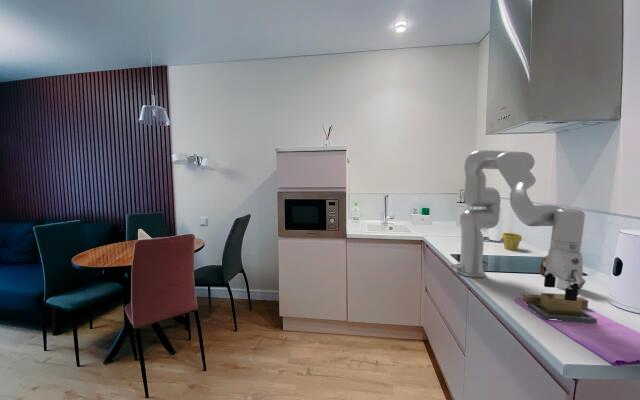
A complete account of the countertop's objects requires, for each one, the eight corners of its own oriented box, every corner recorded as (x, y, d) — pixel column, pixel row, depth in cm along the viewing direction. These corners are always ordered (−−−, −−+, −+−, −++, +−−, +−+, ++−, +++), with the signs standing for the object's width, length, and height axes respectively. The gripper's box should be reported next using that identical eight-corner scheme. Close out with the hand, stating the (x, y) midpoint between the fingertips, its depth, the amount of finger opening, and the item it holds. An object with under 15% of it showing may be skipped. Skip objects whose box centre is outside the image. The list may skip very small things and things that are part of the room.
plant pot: (524, 250, 170) (525, 235, 169) (511, 251, 168) (512, 236, 167) (509, 246, 180) (510, 232, 179) (497, 247, 178) (498, 233, 177)
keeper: (545, 320, 87) (545, 315, 87) (528, 306, 96) (528, 302, 96) (596, 323, 85) (597, 319, 85) (574, 309, 94) (574, 305, 94)
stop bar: (581, 317, 88) (582, 299, 88) (548, 315, 90) (549, 298, 89) (571, 311, 92) (572, 294, 92) (539, 309, 93) (541, 292, 93)
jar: (566, 283, 118) (568, 256, 117) (586, 290, 110) (588, 262, 109) (547, 283, 117) (549, 257, 116) (566, 291, 109) (569, 263, 108)
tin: (547, 268, 136) (548, 253, 136) (555, 270, 134) (556, 254, 133) (538, 275, 127) (540, 258, 127) (547, 277, 125) (548, 260, 124)
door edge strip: (526, 304, 98) (527, 296, 98) (522, 301, 100) (522, 293, 100) (587, 308, 95) (588, 300, 95) (581, 305, 97) (582, 297, 97)
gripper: (601, 254, 80) (593, 307, 82) (558, 239, 97) (553, 283, 99) (573, 252, 81) (566, 305, 83) (535, 238, 98) (531, 281, 100)
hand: (559, 293), depth 91 cm, fingers open, 9 cm apart
